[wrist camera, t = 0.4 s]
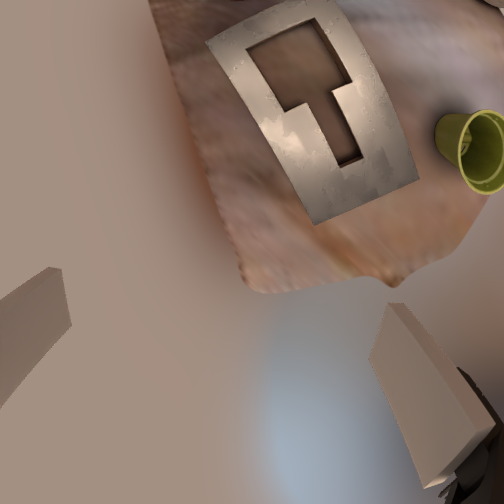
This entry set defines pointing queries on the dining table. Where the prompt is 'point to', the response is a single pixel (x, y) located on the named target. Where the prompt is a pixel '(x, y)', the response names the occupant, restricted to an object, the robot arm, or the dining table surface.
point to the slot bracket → (303, 122)
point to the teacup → (496, 3)
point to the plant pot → (474, 147)
